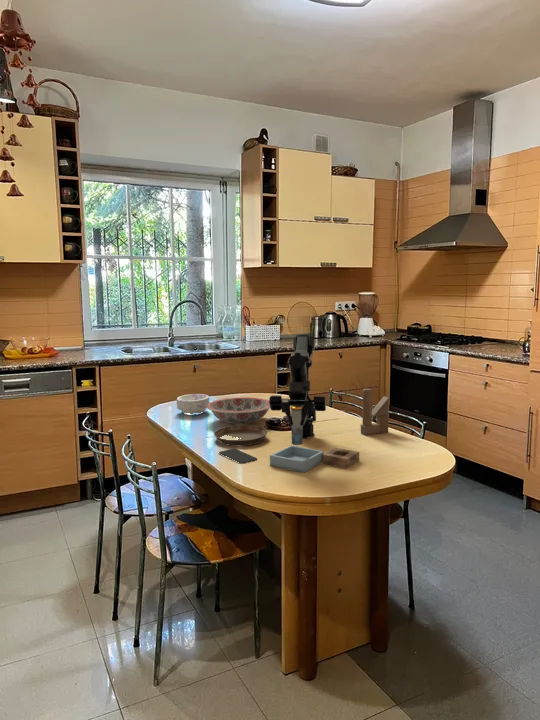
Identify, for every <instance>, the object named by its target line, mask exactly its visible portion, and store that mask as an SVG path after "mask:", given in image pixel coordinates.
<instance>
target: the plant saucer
mask: <svg viewBox="0 0 540 720" xmlns="http://www.w3.org/2000/svg"><path fill="white" fill-rule="evenodd" d="M213 435H214V437H215V439H216V440H217V441H219V442H220V443H221V442H222V443H221V444H223V443H224V444H223V445H226V444H229V445H228V446H231V445H246V446H251V445H250V444H252V445H255V443H256V444H258V442H259V443H261V442H262V441H263V440H264V439H265V438H266V436H267V435H268V430H267V429H266V428H264V427H262V426H258V425H254V424H253V425H251V424H235V425H231V426H230V425H229V426H224V427H221V428H219V429H217V430H215V431H214V434H213ZM224 435H227V436H228V435H229V436H232V438H233V437H235V438H236V437H238V438H239V439H238V440H226V439H221V438H220V437H222V436H224ZM240 438H241V439H240Z"/></svg>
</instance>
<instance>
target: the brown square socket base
mask: <svg viewBox="0 0 540 720" xmlns="http://www.w3.org/2000/svg"><path fill="white" fill-rule="evenodd" d="M357 462H360V451H355V450H350V449H345V448H339V447H334V448H332V449H330V450H329V451H327V452H324V454H323V462H322V464H325V465H330V466H334V467H339V468H344V469H349V468H350V467H351V466H353V465H355V464H356V463H357Z"/></svg>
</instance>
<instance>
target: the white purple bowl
mask: <svg viewBox="0 0 540 720" xmlns="http://www.w3.org/2000/svg"><path fill="white" fill-rule="evenodd" d="M208 403H210V396H209V395H208V394H203V393H194V394H193V393H191V394H183V395H181V396H177V398H176V409H177V410H179V411H181V413H182V412H183V413H190V414H193V413H201V412H204V411H205V412H206V410H207V407H206V406H207V404H208ZM205 412H204V413H205ZM183 413H182V414H183Z"/></svg>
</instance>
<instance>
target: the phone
mask: <svg viewBox="0 0 540 720" xmlns="http://www.w3.org/2000/svg"><path fill="white" fill-rule="evenodd" d="M219 453H220V454H222V455H224V456H227V457H229V458H231V459H233V460H235V461H237V462H239V463H244V464H247V463H246V462H248V463H251V461H252V462H255V460H256V461H257V460H258V458H257V457H255V456H253V455H251V454H249V453H246V452H244V451H242V450H240V449H237V448H230V449H226V450H221V451H219V452H218V454H219ZM222 455H221V456H222ZM224 456H223V457H224ZM235 461H234V462H235ZM237 462H236V463H237ZM239 463H238V464H239Z"/></svg>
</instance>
